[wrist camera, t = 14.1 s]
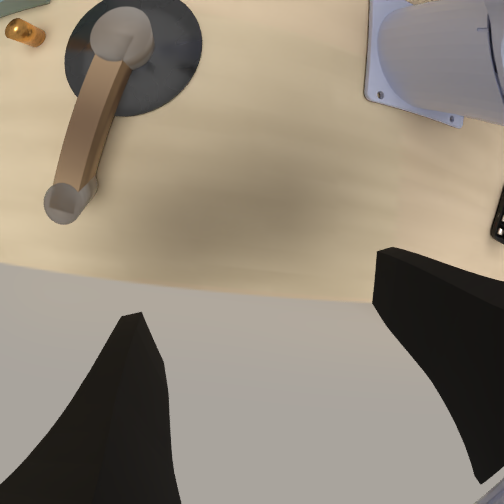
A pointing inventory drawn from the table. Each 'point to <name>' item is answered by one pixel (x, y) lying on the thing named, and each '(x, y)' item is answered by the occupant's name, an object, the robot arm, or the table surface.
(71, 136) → the crank
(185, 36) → the crank base
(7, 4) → the tray
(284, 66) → the table surface
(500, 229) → the battery charger
